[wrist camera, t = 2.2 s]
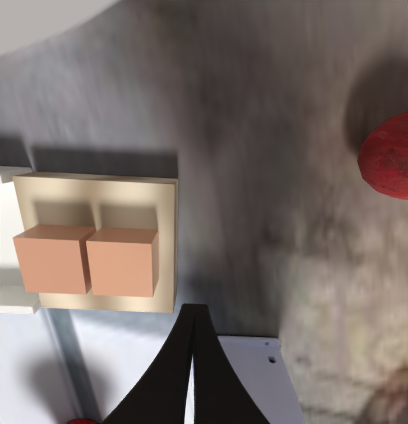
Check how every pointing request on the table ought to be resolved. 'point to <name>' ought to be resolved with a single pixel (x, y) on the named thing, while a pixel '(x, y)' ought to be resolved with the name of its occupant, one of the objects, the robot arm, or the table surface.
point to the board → (106, 225)
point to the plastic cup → (81, 422)
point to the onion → (387, 157)
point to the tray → (12, 249)
